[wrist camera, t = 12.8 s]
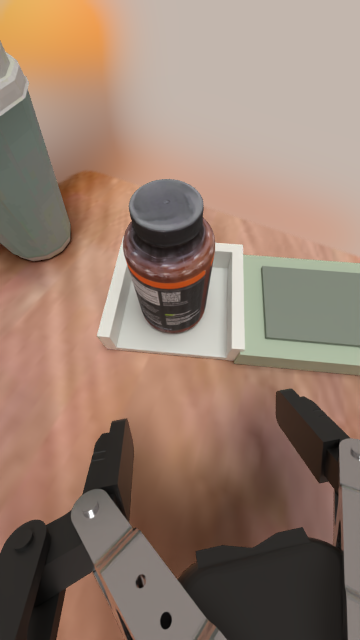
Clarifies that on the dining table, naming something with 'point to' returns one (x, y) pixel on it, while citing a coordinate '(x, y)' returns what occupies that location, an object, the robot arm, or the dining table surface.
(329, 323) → the green rectangular block
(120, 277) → the chute bracket
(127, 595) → the robot arm
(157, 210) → the supplement bottle
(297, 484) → the dining table surface
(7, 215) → the disposable coffee cup
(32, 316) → the dining table surface
